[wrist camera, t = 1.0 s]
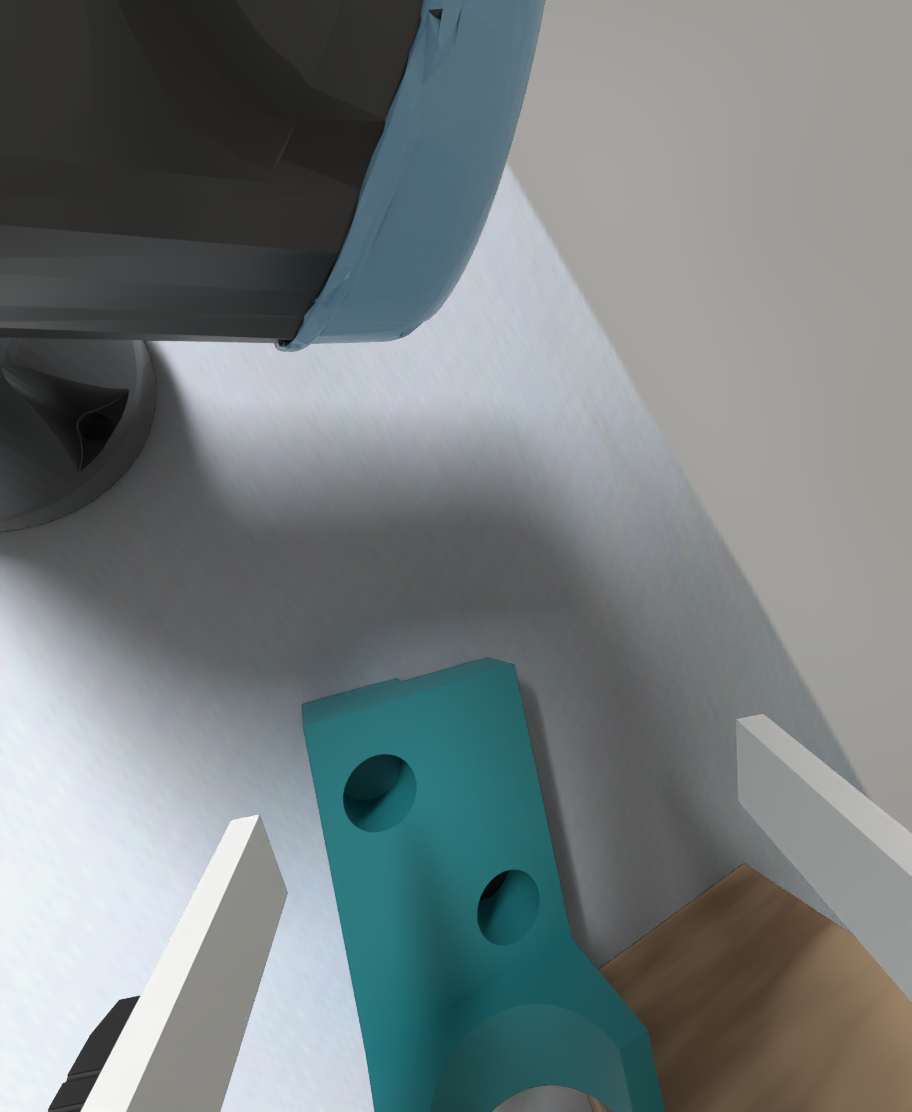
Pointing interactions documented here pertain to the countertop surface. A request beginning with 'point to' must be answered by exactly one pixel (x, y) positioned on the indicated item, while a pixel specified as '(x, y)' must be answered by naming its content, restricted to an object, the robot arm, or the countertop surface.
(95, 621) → the countertop surface
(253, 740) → the countertop surface
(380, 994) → the teal l-shaped bracket
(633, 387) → the countertop surface
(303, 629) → the countertop surface
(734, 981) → the tower
